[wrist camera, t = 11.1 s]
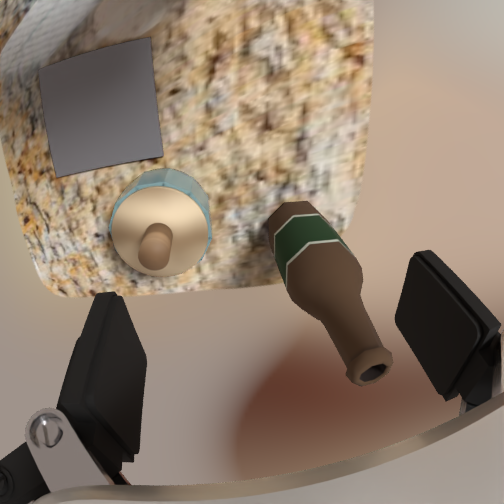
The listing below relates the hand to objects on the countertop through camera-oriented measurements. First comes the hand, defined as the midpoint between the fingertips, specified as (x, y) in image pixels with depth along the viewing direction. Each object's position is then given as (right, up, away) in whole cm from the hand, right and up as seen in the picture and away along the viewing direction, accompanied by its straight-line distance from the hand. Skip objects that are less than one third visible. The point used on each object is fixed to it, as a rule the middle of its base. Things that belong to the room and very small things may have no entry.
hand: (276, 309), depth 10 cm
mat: (-18, +18, +20) cm, 32 cm away
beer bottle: (+5, +5, +31) cm, 32 cm away
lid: (-10, +4, +23) cm, 25 cm away
